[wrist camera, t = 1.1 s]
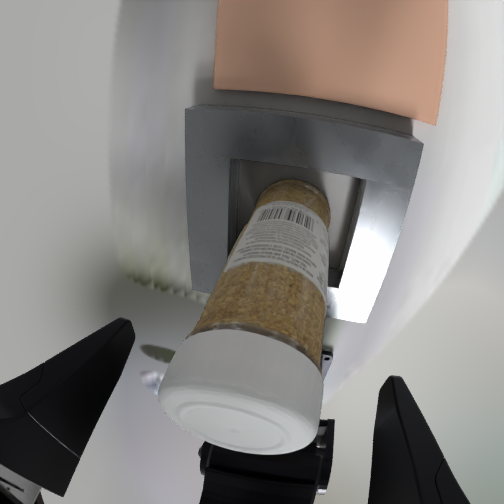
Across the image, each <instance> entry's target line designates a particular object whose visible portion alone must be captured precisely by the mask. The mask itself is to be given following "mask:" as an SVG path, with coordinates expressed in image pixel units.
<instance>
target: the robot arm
mask: <svg viewBox="0 0 504 504" xmlns="http://www.w3.org/2000/svg"><path fill="white" fill-rule="evenodd" d="M134 341H135V332H134V329H133V326H132V323H131V321H130V320H128V319H125V318H122V317H121V318H118V319H116V320H114V321H112V322H111V323H109V324H108V325H106V326H104V327H102V328H101V329H99V330H97V331H96V332H94V333H92V334H91V335H89V336H87V337H85V338H84V339H82V340H80V341H79V342H77V343H75V344H74V345H72V346H70V347H69V348H67V349H66V350H64V351H62V352H60V353H59V354H57V355H55V356H54V357H52V358H50V359H49V360H47V361H45V363H42V364H40V365H39V366H37V367H35V368H34V369H32V370H30V371H28V372H26V373H25V374H22V375H20V376H18V377H16V378H14V379H12V380H10V381H8V382H6V383H4V384H1V385H0V504H44V502H43V499H42V495H41V492H40V490H41V488H44V489H46V490H48V491H50V492H52V493H54V494H57V495H59V496H61V497H64V495H65V492H66V490H67V488H68V485H69V483H70V481H71V479H72V476H73V474H74V472H75V469H76V467H77V465H78V463H79V461H80V458H81V455H82V454H83V451H84V449H85V447H86V445H87V442H88V441H89V438H90V436H91V434H92V432H93V430H94V428H95V426H96V424H97V422H98V420H99V418H100V416H101V414H102V411H103V410H104V407H105V406H106V404H107V402H108V399H109V398H110V396H111V394H112V392H113V390H114V388H115V386H116V384H117V382H118V380H119V378H120V376H121V374H122V371H123V369H124V366H125V364H126V361H127V359H128V356H129V354H130V351H131V349H132V346H133V344H134ZM332 360H333V354H332V353H331V352H327V351H322V352H321V357H320V366H321V370H322V379H323V380H324V378H325V376H326V374H327V371H328V369H329V367H330V365H331V363H332ZM334 423H335V420H334V419H328V420H321V419H320V420H319V427H318V431H317V434H316V436H315V438H314V440H313V441H312V442H311V443H310V444H309V445H307V446H306V447H304V448H302V449H300V450H297V451H294V452H290V453H285V454H275V455H262V454H251V453H244V452H239V451H234V450H230V449H226V448H223V447H220V446H217V445H214V444H211V443H209V442H207V441H205V442H204V443H203V445H202V446H201V448H200V449H199V452H198V455H199V456H200V458H201V460H200V471H201V474H202V475H205V477H204V485H203V491H202V495H201V499H200V503H199V504H313V503H314V499H315V495H316V494H320V495H324V494H325V492H326V489H327V486H328V482H329V478H330V473H331V467H332V459H333V444H334ZM317 446H320V447H319V448H318V447H317ZM372 453H373V454H372V467H371V478H370V489H369V498H368V504H470V502H469V501H468V499H467V497H466V496H465V494H464V492H463V491H462V489H461V488H460V486H459V484H458V482H457V481H456V479H455V477H454V475H453V473H452V472H451V469H450V467H449V465H448V463H447V461H446V459H445V458H444V456H443V453H442V451H441V449H440V447H439V445H438V443H437V441H436V439H435V437H434V435H433V434H432V432H431V430H430V428H429V426H428V424H427V422H426V420H425V419H424V416H423V415H422V413H421V411H420V409H419V407H418V406H417V403H416V402H415V400H414V398H413V396H412V394H411V393H410V391H409V389H408V387H407V385H406V384H405V382H404V380H403V379H402V377H400V376H393V375H392V376H389V377H388V379H387V380H386V381H385V383H384V384H383V386H382V387H381V389H380V391H379V397H378V405H377V412H376V420H375V426H374V435H373V452H372Z"/></svg>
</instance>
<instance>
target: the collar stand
mask: <svg viewBox="0 0 504 504" xmlns="http://www.w3.org/2000/svg"><path fill="white" fill-rule="evenodd" d="M423 145H424V144H423V143H422V142H421V141H419V140H418V139H416V138H415V137H414V136H411V135H407V134H404V133H400V132H396V131H392V130H388V129H384V128H380V127H375V126H371V125H366V124H362V123H357V122H352V121H347V120H341V119H336V118H330V117H324V116H318V115H312V114H305V113H298V112H290V111H281V110H272V109H262V108H250V107H236V106H217V105H198V106H194V107H191V108H187V109H185V162H186V195H187V218H188V236H189V252H190V266H191V279H192V290H196V291H200V292H204V293H209V294H212V292H213V290H214V287H215V285H216V283H217V281H218V280H219V277H220V275H221V273H222V271H223V269H224V267H225V265H226V263H227V260H228V257H229V255H230V253H231V251H232V249H233V247H234V245H235V243H236V232H237V206H238V183H239V162H240V159H243V160H252V161H260V162H267V163H275V164H282V165H289V166H295V167H302V168H308V169H314V170H320V171H325V172H331V173H336V174H342V175H347V176H352V177H357V178H361V180H360V185H359V189H358V194H357V198H356V203H355V207H354V212H353V216H352V220H351V224H350V228H349V232H348V236H347V240H346V244H345V248H344V252H343V256H342V259H341V263H340V267H339V270H338V269H333V268H328V286H327V308H326V316H325V317H331V318H337V319H343V320H349V321H355V322H362V323H365V322H366V320H367V318H368V315H369V313H370V311H371V308H372V306H373V303H374V301H375V299H376V296H377V294H378V291H379V289H380V286H381V284H382V281H383V278H384V276H385V273H386V271H387V268H388V265H389V262H390V260H391V257H392V254H393V251H394V248H395V245H396V242H397V240H398V237H399V233H400V230H401V227H402V224H403V221H404V218H405V214H406V211H407V208H408V204H409V201H410V197H411V194H412V190H413V186H414V183H415V179H416V175H417V171H418V167H419V163H420V159H421V154H422V150H423Z"/></svg>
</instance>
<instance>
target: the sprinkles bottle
mask: <svg viewBox="0 0 504 504" xmlns="http://www.w3.org/2000/svg"><path fill="white" fill-rule="evenodd" d="M329 223H330V208H329V206H328V203H327V201H326V199H325V197H324V196H323V194H322V193H321V192H320V191H319V190H318V189H317V188H315V187H314V186H312V185H310V184H308V183H306V182H303V181H299V180H293V179H292V180H281V181H279V182H276V183H274V184H272V185H270V186H269V187H268V188H266V189H265V190H264V191H263V192H262V193H261V194H260V196H259V198H258V201H257V203H256V206H255V210H254V212H253V214H252V216H251V218H250V220H249V222H248V223H247V224H246V225H245V227H244V228H243V230H242V232H241V234H240V236H239V237H238V239H237V241H236V243H235V245H234V247H233V249H232V251H231V253H230V255H229V257H228V260H227V263H226V265H225V267H224V269H223V271H222V273H221V275H220V277H219V280H218V281H217V283H216V285H215V287H214V290H213V292H212V294H211V295H210V297H209V300H208V302H207V304H206V306H205V308H204V311H203V313H202V315H201V318H200V320H199V321H198V322H197V325H196V327H195V328H194V330H193V331H192V332H191V333H190V334H189V335H188V336H187V337H186V339H185V340H184V341H183V342H182V343H181V345H180V346H179V347H178V349H177V351H176V353H175V355H174V357H173V359H172V361H171V363H170V365H169V367H168V369H167V371H166V373H165V376H164V378H163V380H162V382H161V384H160V387H159V390H158V400H159V403H160V406H161V408H162V409H163V411H164V412H165V414H166V415H167V416H168V417H169V418H170V419H171V420H172V421H173V422H174V423H176V424H177V425H178V426H180V427H181V428H183V429H184V430H185V431H187V432H188V433H190V434H192V435H194V436H196V437H198V438H200V439H202V440H204V441H207V442H209V443H211V444H214V445H217V446H220V447H223V448H226V449H230V450H234V451H239V452H244V453H251V454H262V455H275V454H285V453H290V452H294V451H297V450H300V449H302V448H304V447H306V446H307V445H309V444H310V443H311V442H312V441H313V440H314V438H315V436H316V434H317V431H318V427H319V420H320V414H321V407H322V399H323V387H324V384H323V379H322V370H321V366H320V357H321V352H322V338H323V328H324V320H325V316H326V308H327V286H328V266H329V236H328V226H329Z"/></svg>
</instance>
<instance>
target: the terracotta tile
mask: <svg viewBox="0 0 504 504" xmlns="http://www.w3.org/2000/svg"><path fill="white" fill-rule="evenodd" d="M447 32H448V0H218V14H217V28H216V45H215V64H214V86H213V89H224V90H246V91H260V92H272V93H282V94H291V95H299V96H307V97H314V98H321V99H327V100H333V101H338V102H344V103H349V104H354V105H359V106H364V107H369V108H373V109H377V110H382V111H386V112H390V113H394V114H398V115H401V116H405V117H409V118H412V119H416V120H419V121H422V122H426V123H429V124H432V125H435V126H436V123H437V117H438V112H439V106H440V99H441V93H442V86H443V78H444V69H445V60H446V48H447Z"/></svg>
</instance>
